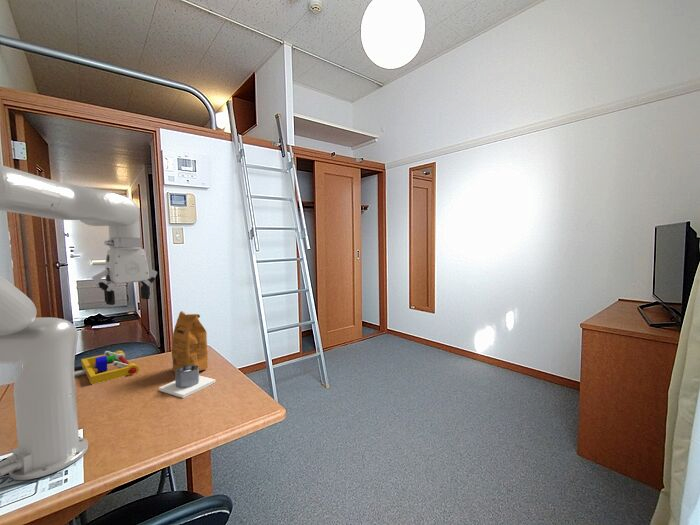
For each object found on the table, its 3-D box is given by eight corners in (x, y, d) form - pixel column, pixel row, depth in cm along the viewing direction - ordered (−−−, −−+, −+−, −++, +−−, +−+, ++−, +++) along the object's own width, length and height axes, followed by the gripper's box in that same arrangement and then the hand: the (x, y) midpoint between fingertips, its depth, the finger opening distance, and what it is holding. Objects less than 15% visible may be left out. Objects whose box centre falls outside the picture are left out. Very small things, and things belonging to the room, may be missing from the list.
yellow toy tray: (121, 341, 136) (139, 358, 115) (122, 355, 137) (139, 374, 116) (64, 352, 123) (72, 373, 102) (65, 368, 123) (74, 392, 103)
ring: (185, 389, 100) (184, 374, 100) (171, 385, 103) (171, 370, 103) (203, 381, 106) (202, 366, 106) (190, 377, 109) (189, 363, 109)
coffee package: (194, 362, 126) (191, 308, 124) (211, 369, 119) (209, 311, 117) (168, 371, 118) (165, 313, 116) (185, 378, 111) (182, 317, 109)
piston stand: (183, 398, 96) (182, 382, 96) (159, 390, 102) (158, 375, 101) (215, 382, 107) (215, 368, 107) (192, 376, 112) (191, 362, 112)
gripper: (98, 244, 84) (102, 308, 85) (162, 244, 99) (164, 297, 100) (84, 244, 87) (87, 305, 88) (147, 244, 103) (150, 296, 104)
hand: (128, 301), depth 94 cm, fingers open, 9 cm apart
